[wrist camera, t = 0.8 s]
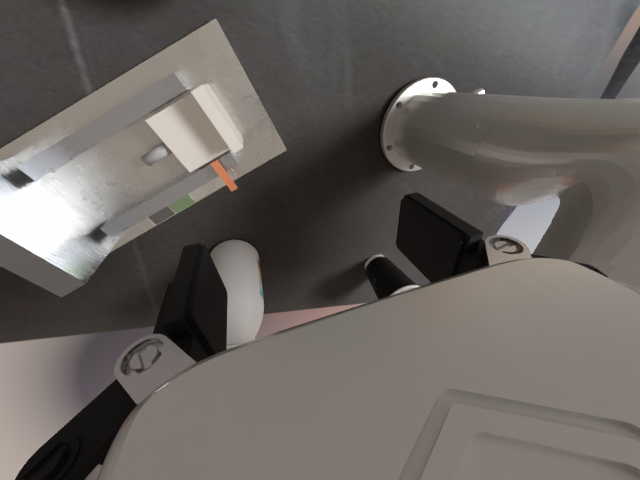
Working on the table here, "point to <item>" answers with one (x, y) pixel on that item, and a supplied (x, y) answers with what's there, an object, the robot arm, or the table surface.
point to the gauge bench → (119, 163)
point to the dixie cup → (386, 277)
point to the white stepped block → (195, 132)
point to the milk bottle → (240, 289)
